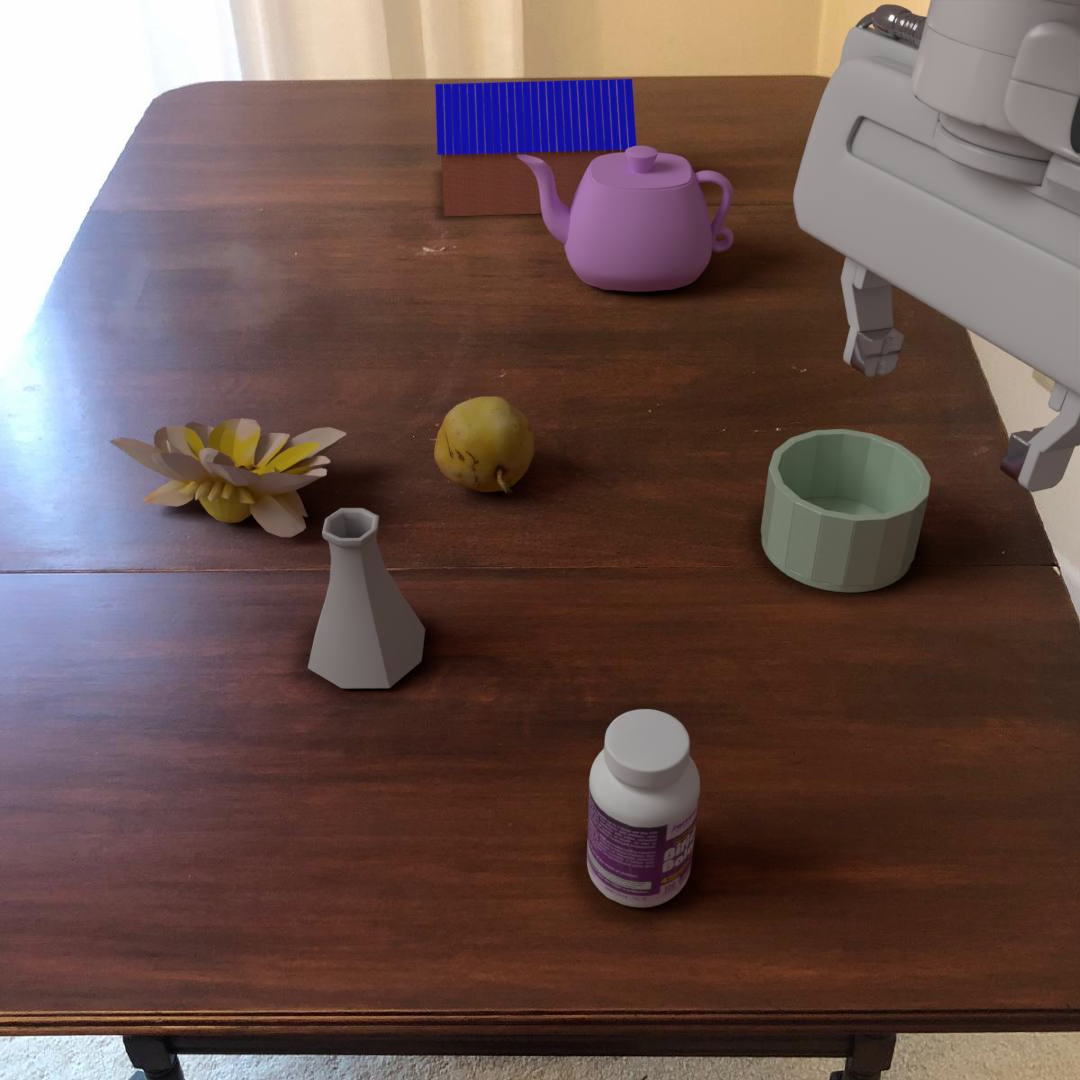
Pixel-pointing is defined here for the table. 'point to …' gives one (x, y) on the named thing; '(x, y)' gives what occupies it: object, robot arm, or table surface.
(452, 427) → the fruit
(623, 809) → the pill bottle
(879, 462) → the crock
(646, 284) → the teapot
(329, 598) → the flask
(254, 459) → the decorative flower
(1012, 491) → the table surface
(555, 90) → the house
